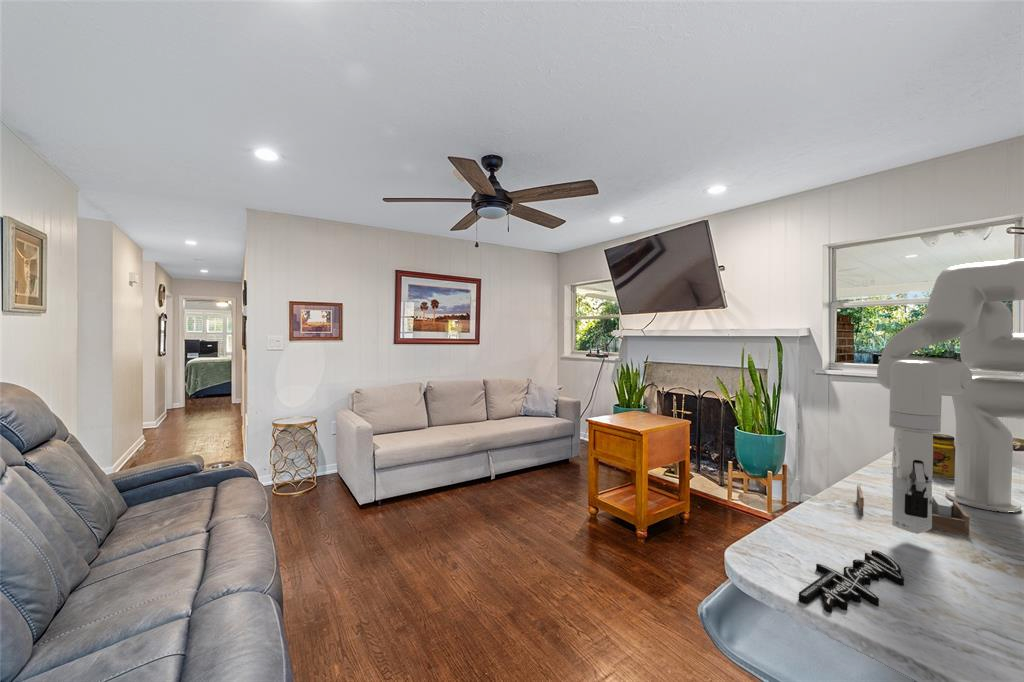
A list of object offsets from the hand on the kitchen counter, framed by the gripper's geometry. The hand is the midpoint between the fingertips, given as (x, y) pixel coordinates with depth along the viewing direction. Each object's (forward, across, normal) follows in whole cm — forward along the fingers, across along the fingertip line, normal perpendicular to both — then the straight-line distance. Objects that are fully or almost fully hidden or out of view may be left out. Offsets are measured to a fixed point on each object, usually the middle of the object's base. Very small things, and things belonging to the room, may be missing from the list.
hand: (912, 508), depth 85 cm
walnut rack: (+7, -16, +2) cm, 17 cm away
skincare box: (+4, 0, 0) cm, 4 cm away
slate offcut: (+7, -16, +7) cm, 19 cm away
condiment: (+7, -62, +15) cm, 64 cm away
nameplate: (+8, +24, -10) cm, 27 cm away
